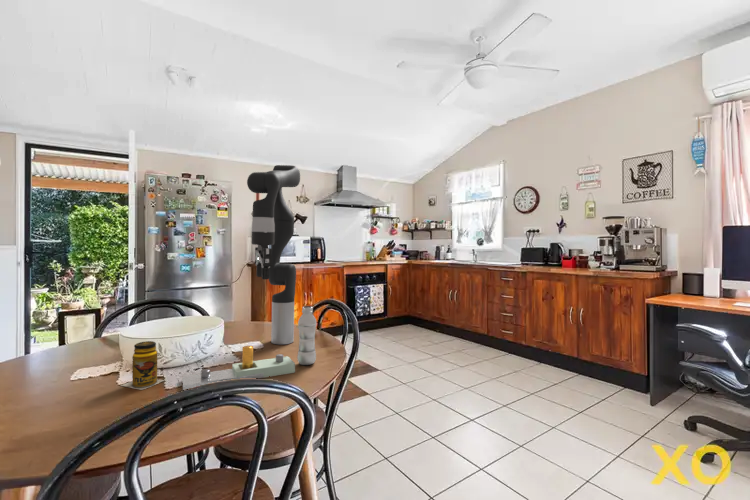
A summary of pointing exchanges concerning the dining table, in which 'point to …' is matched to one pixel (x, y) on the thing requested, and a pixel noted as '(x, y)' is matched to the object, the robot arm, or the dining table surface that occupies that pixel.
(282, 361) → the block
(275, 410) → the dining table surface
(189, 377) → the lower chain end
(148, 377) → the condiment
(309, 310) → the plastic bottle
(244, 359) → the pin
